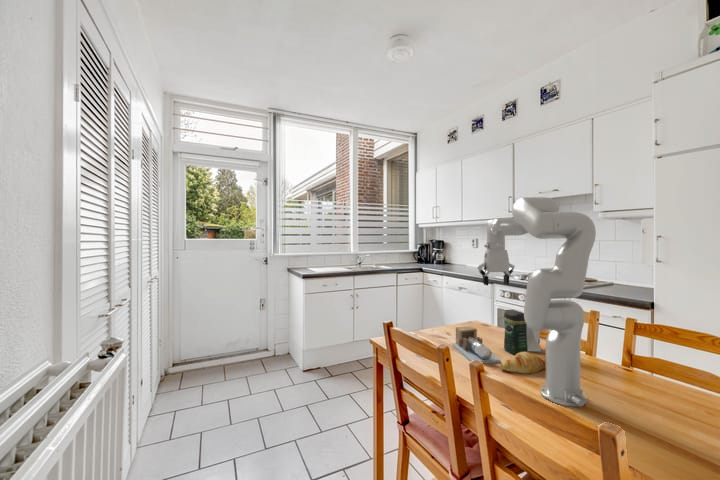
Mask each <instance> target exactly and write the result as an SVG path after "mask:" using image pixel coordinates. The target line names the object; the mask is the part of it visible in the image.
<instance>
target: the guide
mask: <svg viewBox="0 0 720 480" xmlns="http://www.w3.org/2000/svg"><path fill="white" fill-rule="evenodd" d="M477 341H479V342H480V343H482V344H483V338H482V337H480V336H477ZM463 349H464V350H465V351H468V340H467V339H466V338H463Z"/></svg>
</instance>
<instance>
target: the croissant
mask: <svg viewBox="0 0 720 480" xmlns="http://www.w3.org/2000/svg"><path fill="white" fill-rule="evenodd" d="M499 368H500V370H503V371H506V372H510V373H517V374H534V373H538V372H539V371H541V370H544V369H546V358H544V357H541V356H539V355H536V354H534V353H533V352H519V353H517V354H514V355H512V356H510V358H509V359H506V360H504V362H503V363H499Z"/></svg>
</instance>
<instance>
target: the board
mask: <svg viewBox="0 0 720 480" xmlns="http://www.w3.org/2000/svg"><path fill="white" fill-rule="evenodd" d="M451 346H452V347H453V348H454V349H455V350H457V351H458V352H459V353H460V354H461V355H462V356H463V357H464V358H465V359H466V360H467V361H469V362H470V361H472V360H479V361H481V362H483V363H484V364H498V363H499V364H502V360H501V359H500V358H499V357H497V356H496V355H494V354H493V353H492V356H491V357H490V358H489V359H488V360H484V359H483V358H481V357H480V356H479V355H478V354H476V353H475V352H474V351H473V350H471V349H470V348H469V347H468V351H465V350H464V349H463V344H462V346H458V345H457V344H456V342H453V343H451Z"/></svg>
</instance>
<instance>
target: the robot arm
mask: <svg viewBox="0 0 720 480" xmlns="http://www.w3.org/2000/svg"><path fill="white" fill-rule="evenodd" d="M511 212H512V215H513V216H512V217H499V218H498V217H497V218H495V219H489V220H488V221H487V223H486V243H485V244H484V248H486V250H485V252H484V257H483V263H481V264H479V265H477V267H476V268H477V270H478V272H479V274H481V276H482V283H483V285H485V286H489V274H490V273H503V284H504V285H507V286H508V285H510V276H511V275H512V273H513V272H514V270H515V268H516V266H515V265H514V264H512V263H510V261H509V260H510V259H509V253H508V250H507V249H506V237H507V236H509V237H510V236H523V235H527V234H529V235H531V236H532V237H534V238H535V239H539V240H540V239H544V240H545V239H547V240H548V239H549V240H550V239H551V240H553V239H555V240H556V239H565V242H564V243H563V244H561V246H560V247H559V248H558V251H557V252H556V254H555V261H554V265H553V267H551V268H548V267H546V268H538V269H535V270H533V272H532V273H530V275H529V277H528V280H527V285H526V291H525V292H526V293H525V294H526V298H525V299H524V307H523V313H524V319H525V322H526V324H527V326H528V327H529V328H531V329H533V330H536V331H540V332H547V331H548V333H547V336H546V339H545V359H546V367H545V384H544V385H542V386H541V387H540V388H539V389H540V391H539V392H540V394H541V396H542V395H543V396H542V397H543V398H545V399H546V398H547V399H546V400H548V399H549V400H548V401H550V400H552V401H553V402H552V401H551V402H552V403H555V404H557V405H561V404H562V405H561V406H566V407H573V408H574V407H576V408H577V407H583V406H584V405H586V403H588V401H589V400H588V398H587V396H586V395H585V394H583V389H582V388H581V344H582V343H581V342H582V332H583V328H584V325H585V320H586V319H585V312H584V309H583V308H582V306H581V305H580V304H579V303H577V302H575V301H574V300H570V299H572V298H573V299H574V298H575V299H576V298H578V297H580V296H581V295H582V293H583V291H584V287H585V283H586V277H587V270H588V267H589V261H590V260H589V259H590V256H591V252H592V250H593V247H594V244H595V240H596V236H597V228H596V226H595V223H594V221H593V220H592V219H591V217H590V216H588V215H587V214H585V213H582V212H574V211H560V205H559V204H558V202H557V201H556V200H554V199H553V198H550V197H547V196H546V197H544V196H539V197H538V196H537V197H536V196H535V197H532V196H529V197H527V196H526V197H520V198H518V199H517V200H516V201H514V203H513V206H512V211H511Z"/></svg>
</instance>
